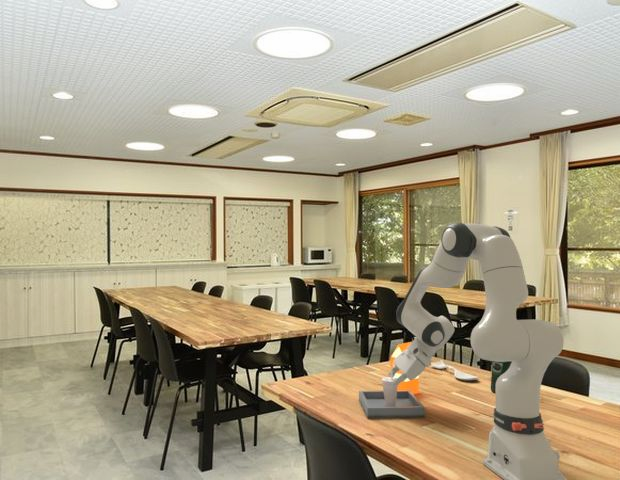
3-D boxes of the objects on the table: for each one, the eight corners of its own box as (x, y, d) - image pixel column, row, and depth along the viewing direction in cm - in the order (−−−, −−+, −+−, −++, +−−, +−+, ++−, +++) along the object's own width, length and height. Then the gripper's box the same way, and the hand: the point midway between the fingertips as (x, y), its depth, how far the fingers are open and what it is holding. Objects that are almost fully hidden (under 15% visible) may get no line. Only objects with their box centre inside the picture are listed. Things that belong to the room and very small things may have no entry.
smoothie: (399, 409, 175) (398, 369, 175) (381, 407, 176) (380, 368, 176) (399, 403, 181) (399, 365, 181) (381, 402, 182) (381, 364, 182)
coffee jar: (520, 394, 195) (520, 348, 195) (506, 397, 192) (506, 350, 192) (501, 388, 204) (500, 344, 204) (487, 391, 200) (487, 345, 200)
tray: (424, 417, 169) (424, 407, 169) (367, 418, 168) (367, 408, 168) (410, 399, 189) (410, 390, 189) (358, 400, 188) (358, 391, 188)
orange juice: (390, 392, 198) (390, 343, 198) (403, 388, 204) (403, 340, 204) (405, 397, 192) (405, 346, 192) (419, 392, 198) (419, 343, 198)
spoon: (441, 365, 244) (441, 358, 244) (482, 382, 213) (482, 374, 214) (425, 367, 241) (425, 360, 241) (465, 384, 211) (465, 376, 211)
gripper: (405, 341, 189) (380, 367, 189) (420, 352, 169) (392, 381, 168) (417, 353, 190) (392, 378, 189) (432, 365, 169) (404, 394, 169)
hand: (392, 380), depth 178 cm, fingers open, 8 cm apart
